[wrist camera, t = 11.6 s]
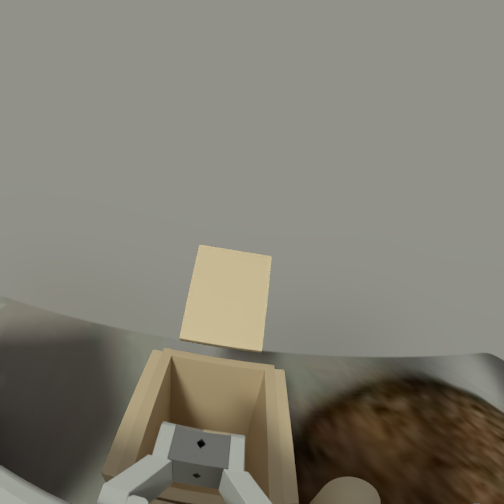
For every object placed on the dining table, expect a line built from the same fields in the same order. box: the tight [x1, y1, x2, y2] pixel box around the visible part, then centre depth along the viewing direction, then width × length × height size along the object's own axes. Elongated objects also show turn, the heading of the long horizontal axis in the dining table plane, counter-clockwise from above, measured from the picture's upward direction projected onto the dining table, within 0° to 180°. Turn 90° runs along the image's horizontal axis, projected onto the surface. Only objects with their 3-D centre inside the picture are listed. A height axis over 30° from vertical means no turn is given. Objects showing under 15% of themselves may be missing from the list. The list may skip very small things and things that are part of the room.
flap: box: [180, 245, 272, 353], centre depth 26 cm, size 7×1×9 cm
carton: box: [101, 348, 299, 504], centre depth 18 cm, size 11×14×10 cm
